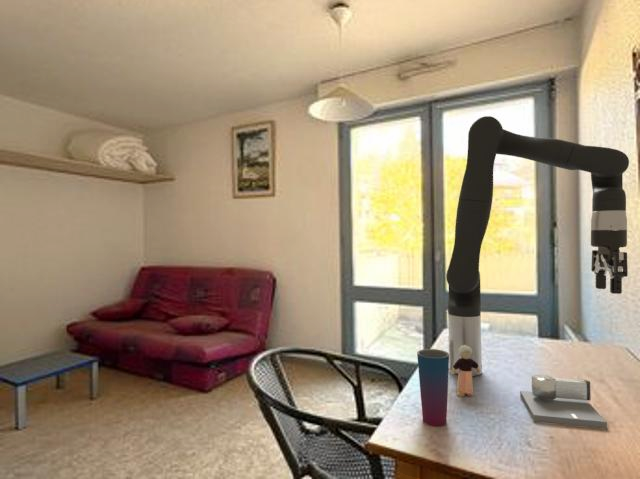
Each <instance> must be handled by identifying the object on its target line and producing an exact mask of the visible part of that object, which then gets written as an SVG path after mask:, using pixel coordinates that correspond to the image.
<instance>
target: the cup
mask: <svg viewBox="0 0 640 479" xmlns="http://www.w3.org/2000/svg"><path fill="white" fill-rule="evenodd" d="M416 355H417V356H416V357H417V368H418V377H419V379H418V380H419V381H418V382H419V390H420V391H419V392H420V402H421V414H422V421H423V423H424V424H426V425H427V426H431V427H444V426H445V425H446V424H447V417H448V416H447V415H448V395H449V394H448V391H449V372H450V370H449V351H445V350H442V349H436V348H425V349H419V350H417V352H416Z"/></svg>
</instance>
